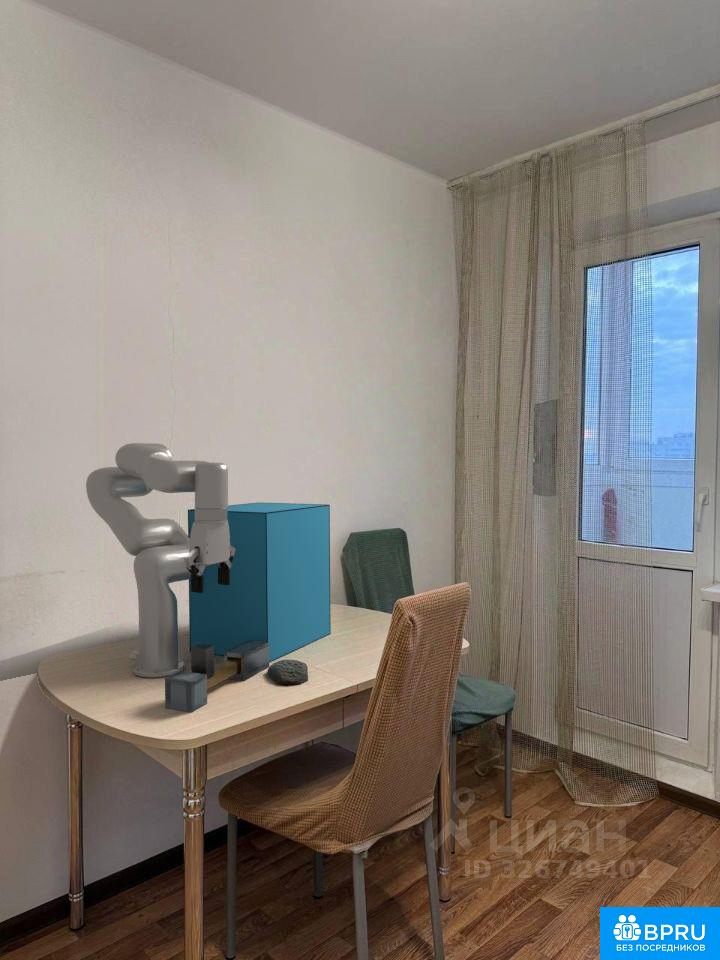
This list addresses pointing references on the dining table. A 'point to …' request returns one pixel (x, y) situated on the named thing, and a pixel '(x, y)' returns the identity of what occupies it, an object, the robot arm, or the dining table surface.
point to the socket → (186, 691)
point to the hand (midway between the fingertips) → (210, 588)
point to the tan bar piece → (212, 664)
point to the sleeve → (249, 658)
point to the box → (267, 580)
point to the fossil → (288, 672)
